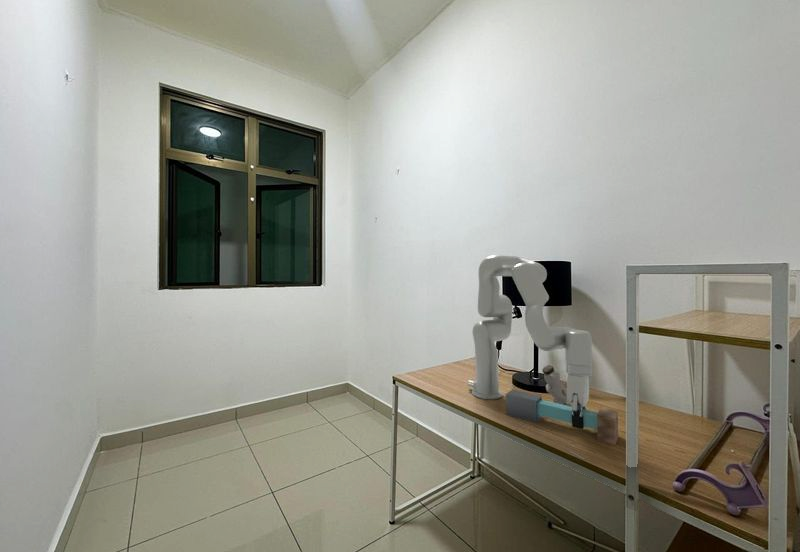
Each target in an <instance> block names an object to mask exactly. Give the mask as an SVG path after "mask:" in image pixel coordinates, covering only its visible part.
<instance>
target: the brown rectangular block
mask: <svg viewBox="0 0 800 552" xmlns="http://www.w3.org/2000/svg"><path fill="white" fill-rule="evenodd" d="M597 412H598V414H597V430H596V431H597V432H596V433H597V434H596V435H597V442H598V441H599V442H602V443H606V444H609V445H613V446H616V443H617V440H618V439H619V411H618V410H615V409H611V408H610V409H609V408H605V407H600V408H599V410H598V411H597Z"/></svg>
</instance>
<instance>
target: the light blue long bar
mask: <svg viewBox="0 0 800 552" xmlns="http://www.w3.org/2000/svg"><path fill="white" fill-rule="evenodd" d="M578 410H579V411H580V408H578ZM598 412H599V411H592V410H589V409H586V410H585V409H582V416H583V421H584V428H589V429H592V430H594V431H597V414H598ZM537 415H540V416H542V417H544V418H549V419H552V420H557V421H561V422H564V423H569V424H572V405H571V406H570V405H568V404H563V405H562V404H558V403H554V401H548V400H544V399H542V400H538V401H537Z"/></svg>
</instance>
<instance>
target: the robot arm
mask: <svg viewBox="0 0 800 552" xmlns="http://www.w3.org/2000/svg"><path fill="white" fill-rule="evenodd" d="M547 276H548V272H547V269H546V268H545V267H544V265H542V264H541V263H539V262H536V261H533V260H530V259H527V258H523V257H519V256H514V255H501V254H500V255H490V256H487V257H486V258H484V259H483V260H482V261H481V263H480V264H479V267H478V296H477V312H478V315H480V316H481V317H483V318H492V319H485V320H483V319H482V320H480V321H477V322H476V323H475V324H474V325H473V327H472V336H473V337H472V338H473V342H474V355H475V356H474V358H475V360H474V361H475V366H474V367H475V368H474V369H475V381H473V380H471V379H470V380H468V382H467V386H468V387H471V388H472V390H471V393H472V395H473V396H475V398H476V397H477V398H478V399H483V400H498V399H501V398H502V397H503V395H504V394H503V391H502V390H500V389H499V387H500V385H499V382H500V381H499V379H500V378H499V351H498V349H497V346H496V342H500V341H501V342H502V341H505V340H507V339H508V338H509V337H510V335H511V332H512V324H513V323H512V321H513V304H512V301H511V299H510V298H509V297H508V296H507V295H505V294H500V281H499V279H498V277H512V280H513V281H514V282H513V283H514V284H515V285H516V288H517V290H518V292H519V294H520V296H521V298H522V300H523V302H524V304H525V312H524V313H525V314H524V319H525V321H524V322H525V326H526V330H527V331H528V333H529V335H530V337H531V340H532V341H533V343H534V344H535V346H536V347H537V348H538V349H539V350H542V351H545V352H551V351H556V350H562V349H564V350H565V353H564V354H565V373H566V374H567V381H566V390H567V401H566V405H567V406H570V405H571V407H572V423H571V427H572V428H574V429H575V428H576V429H579V430H584V428H585V427H584V421H583V416H582V409H585V410H587V404H588V402H589V399H590V382H589V377H591V376H593V347H592V345H593V344H592V342H593V341H592V333H590V332H589V331H587V330H582V329H572V328H570V327H569V328H568V327H565V326H559V325H558V326H553V327H552V326H551V327H550V326H549V325H548V324H547V322H546V320H545V317H544V313H543V309H544V306H545V305H546V303H547V302H548V301H549V299H550V296H549V294H548V292H547V290H546V288H545V287H544V284H543V283H544V282H545V281H546V280H547ZM578 408H580V411H579V410H578Z"/></svg>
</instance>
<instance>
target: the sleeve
mask: <svg viewBox="0 0 800 552" xmlns="http://www.w3.org/2000/svg"><path fill="white" fill-rule="evenodd" d="M538 400H543V396H542V395H540V394H536V393H532V392H531V393H530V392H526V391H522V390H517V389H510V390H508V392H506V393H505V415H506V416H509V417H512V418H517V419H519V418H520V420H524V421H527V422H530V423H535V424H537V423H538V422H539V421H540V420H541V419H542V418H543V416H540V415H537V401H538Z"/></svg>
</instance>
